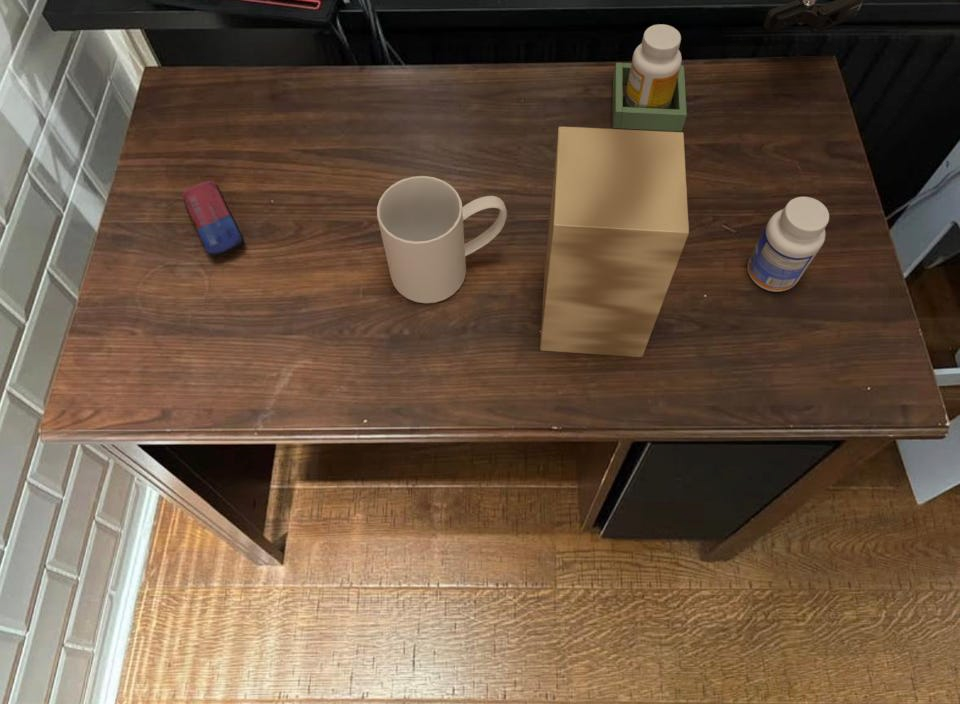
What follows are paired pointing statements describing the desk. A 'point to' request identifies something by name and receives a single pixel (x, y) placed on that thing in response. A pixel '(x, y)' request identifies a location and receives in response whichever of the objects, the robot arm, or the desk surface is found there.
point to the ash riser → (612, 238)
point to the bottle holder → (647, 116)
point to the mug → (430, 236)
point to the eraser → (213, 219)
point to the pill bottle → (788, 244)
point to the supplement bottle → (654, 69)
